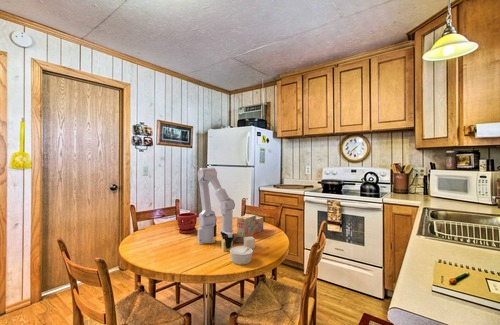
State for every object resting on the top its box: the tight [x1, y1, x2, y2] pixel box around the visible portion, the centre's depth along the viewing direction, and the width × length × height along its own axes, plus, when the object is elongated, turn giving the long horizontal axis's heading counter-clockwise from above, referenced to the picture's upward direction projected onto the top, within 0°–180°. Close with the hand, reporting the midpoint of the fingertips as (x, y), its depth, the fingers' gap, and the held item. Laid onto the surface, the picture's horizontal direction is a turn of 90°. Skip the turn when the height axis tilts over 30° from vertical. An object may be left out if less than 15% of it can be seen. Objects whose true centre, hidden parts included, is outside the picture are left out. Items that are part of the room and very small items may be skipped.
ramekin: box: [229, 245, 254, 265], centre depth 120 cm, size 11×11×5 cm
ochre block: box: [221, 238, 234, 252], centre depth 135 cm, size 5×5×5 cm
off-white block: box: [243, 235, 256, 249], centre depth 139 cm, size 5×5×5 cm
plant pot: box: [176, 212, 198, 234], centre depth 166 cm, size 13×13×12 cm
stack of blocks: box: [236, 213, 264, 237], centre depth 165 cm, size 21×6×12 cm, turn 144°
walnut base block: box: [232, 232, 244, 245], centre depth 148 cm, size 8×8×4 cm
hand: (226, 246), depth 135 cm, fingers closed on ochre block, 5 cm apart
